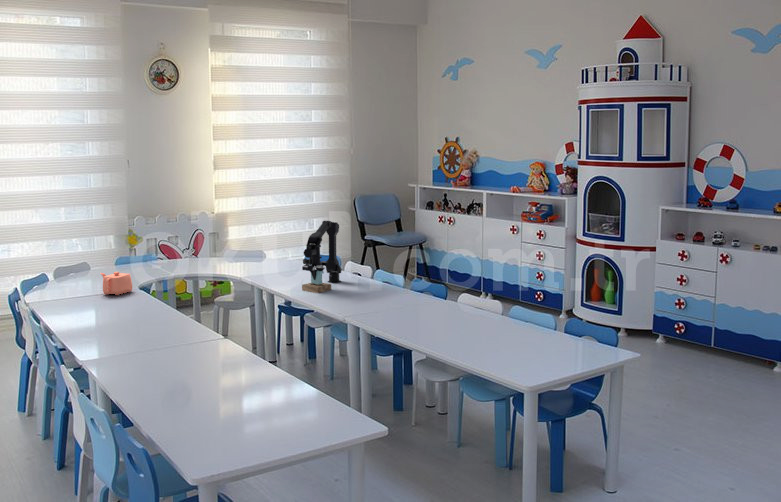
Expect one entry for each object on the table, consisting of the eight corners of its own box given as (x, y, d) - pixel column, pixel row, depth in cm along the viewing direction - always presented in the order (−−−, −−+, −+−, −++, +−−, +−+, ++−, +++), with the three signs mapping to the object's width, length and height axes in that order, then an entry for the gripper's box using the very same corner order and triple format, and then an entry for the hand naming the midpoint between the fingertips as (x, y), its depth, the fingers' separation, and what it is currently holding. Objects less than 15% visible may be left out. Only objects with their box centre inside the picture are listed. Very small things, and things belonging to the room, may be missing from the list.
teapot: (112, 288, 501) (110, 268, 498) (137, 290, 494) (135, 269, 492) (90, 295, 482) (88, 274, 480) (116, 297, 476) (114, 275, 473)
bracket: (314, 282, 489) (314, 269, 487) (324, 283, 483) (323, 271, 482) (311, 283, 486) (310, 270, 485) (320, 284, 481) (320, 272, 479)
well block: (315, 286, 495) (315, 281, 494) (331, 289, 486) (331, 284, 485) (302, 290, 486) (301, 284, 485) (317, 293, 477) (317, 287, 476)
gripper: (317, 251, 494) (318, 275, 497) (295, 255, 480) (296, 280, 483) (329, 253, 487) (330, 277, 490) (308, 257, 473) (309, 282, 476)
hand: (316, 279), depth 485 cm, fingers closed on bracket, 3 cm apart
